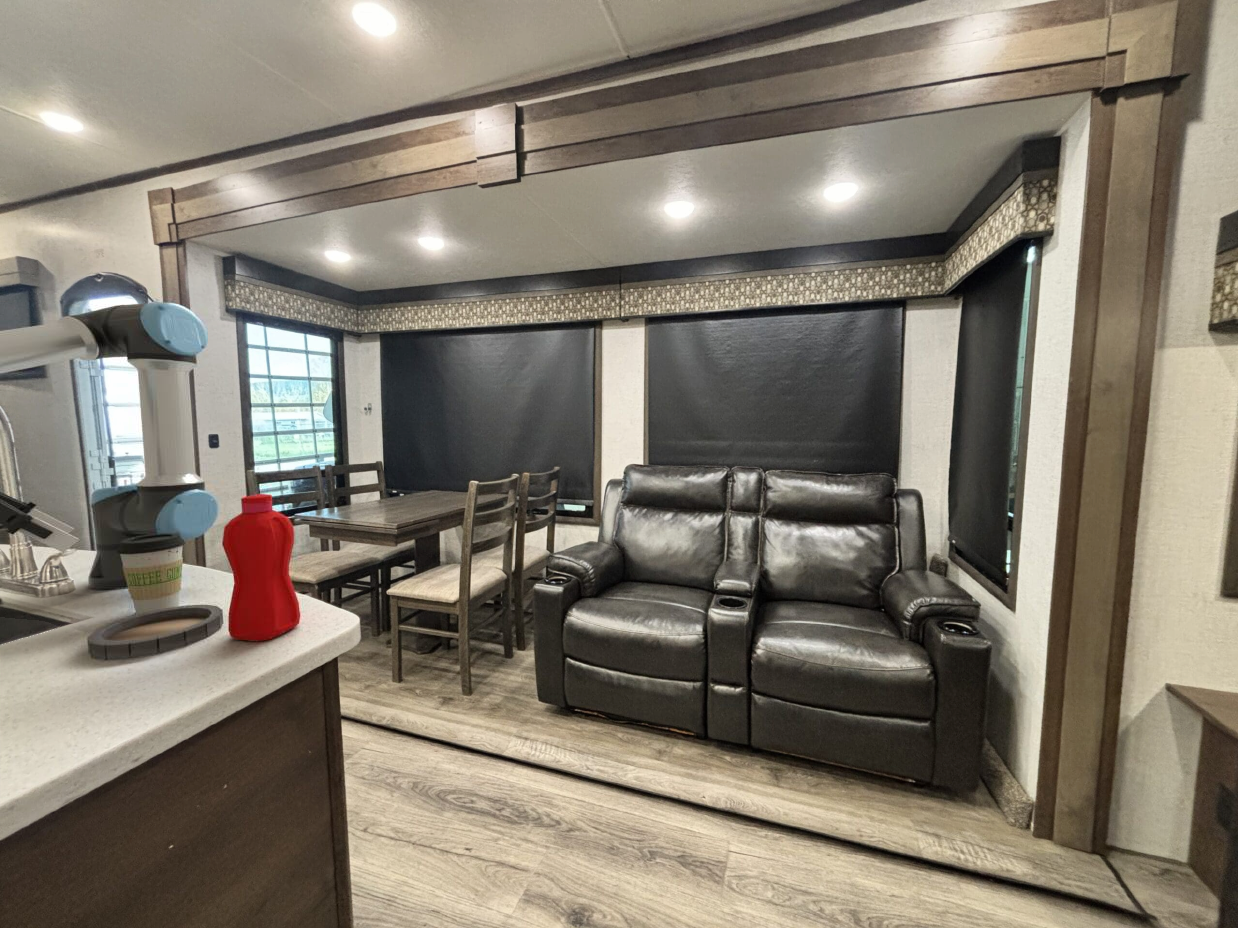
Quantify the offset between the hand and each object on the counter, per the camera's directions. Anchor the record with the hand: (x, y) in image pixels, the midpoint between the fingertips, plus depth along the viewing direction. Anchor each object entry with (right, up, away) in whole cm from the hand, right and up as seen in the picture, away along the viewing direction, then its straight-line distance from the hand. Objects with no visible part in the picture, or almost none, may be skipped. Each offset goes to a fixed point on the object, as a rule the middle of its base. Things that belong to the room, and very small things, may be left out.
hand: (69, 540), depth 88 cm
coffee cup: (+7, -16, +10) cm, 20 cm away
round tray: (+19, -17, -2) cm, 25 cm away
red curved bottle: (+35, -17, 0) cm, 39 cm away
